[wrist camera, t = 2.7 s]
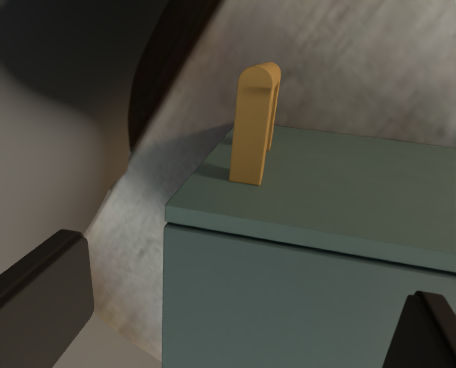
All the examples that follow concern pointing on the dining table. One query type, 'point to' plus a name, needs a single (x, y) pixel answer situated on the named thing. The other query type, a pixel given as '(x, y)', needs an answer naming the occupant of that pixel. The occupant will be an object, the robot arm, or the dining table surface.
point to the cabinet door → (322, 186)
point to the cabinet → (281, 302)
